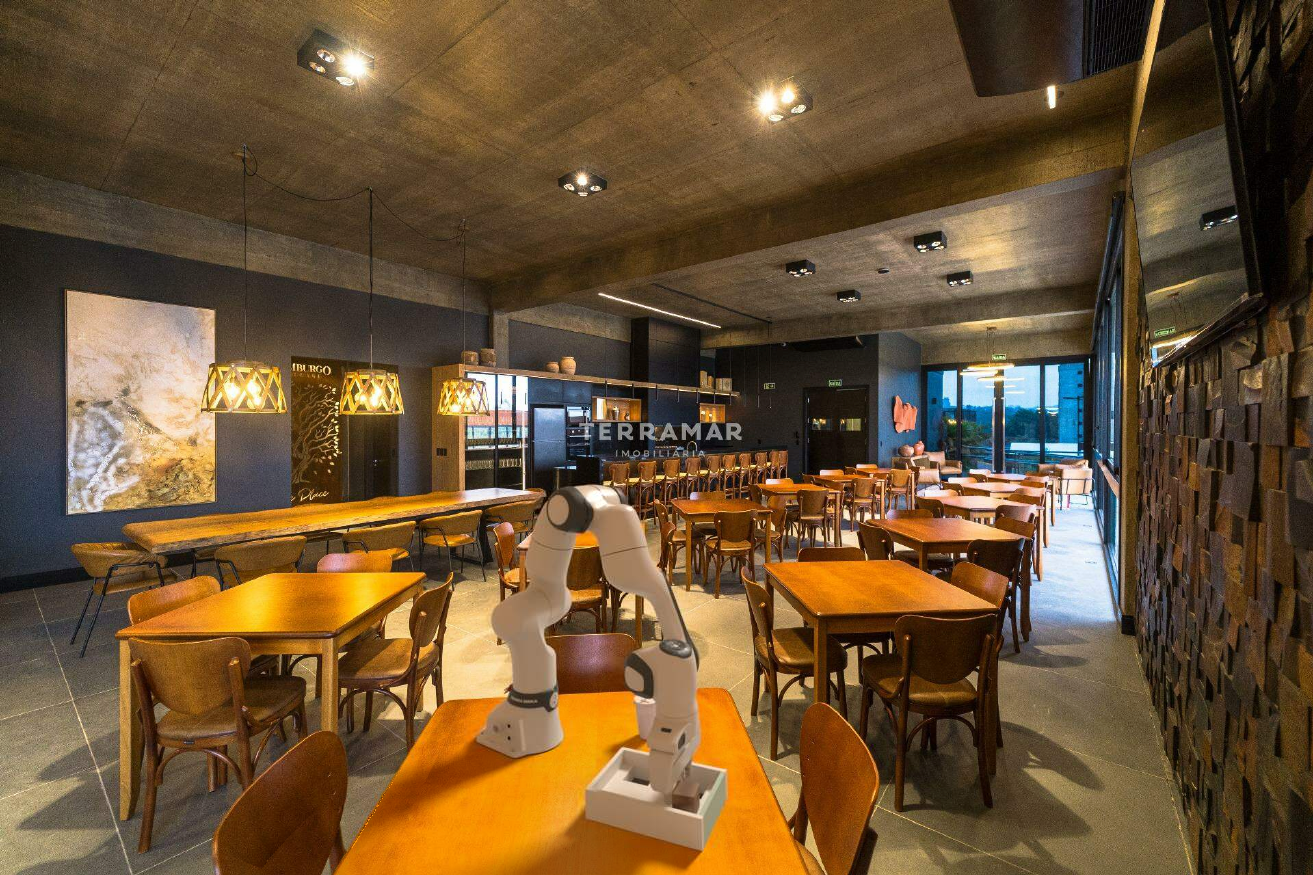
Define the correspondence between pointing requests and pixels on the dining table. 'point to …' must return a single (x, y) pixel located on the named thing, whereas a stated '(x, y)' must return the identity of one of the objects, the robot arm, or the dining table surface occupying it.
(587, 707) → the dining table surface
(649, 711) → the smoothie
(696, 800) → the walnut block
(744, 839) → the dining table surface
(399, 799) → the dining table surface
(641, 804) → the box
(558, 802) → the dining table surface
